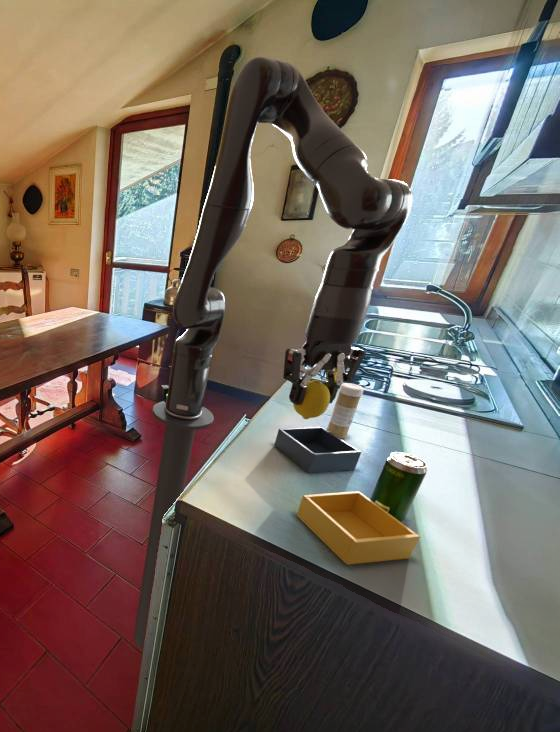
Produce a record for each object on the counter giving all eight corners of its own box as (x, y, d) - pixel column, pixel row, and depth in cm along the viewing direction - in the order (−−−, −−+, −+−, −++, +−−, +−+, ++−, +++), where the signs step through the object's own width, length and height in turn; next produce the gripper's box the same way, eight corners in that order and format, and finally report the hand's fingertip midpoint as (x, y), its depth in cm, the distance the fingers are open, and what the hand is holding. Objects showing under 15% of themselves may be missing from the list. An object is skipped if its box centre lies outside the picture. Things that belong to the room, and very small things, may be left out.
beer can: (397, 529, 68) (424, 472, 64) (361, 511, 72) (384, 457, 68) (407, 517, 71) (433, 462, 66) (372, 501, 75) (394, 448, 71)
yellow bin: (296, 515, 71) (302, 495, 69) (350, 510, 73) (358, 490, 71) (346, 564, 61) (356, 542, 59) (409, 558, 62) (420, 536, 61)
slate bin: (273, 445, 94) (278, 428, 92) (316, 443, 95) (321, 426, 93) (308, 473, 83) (314, 454, 82) (354, 469, 85) (361, 451, 83)
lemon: (303, 410, 77) (314, 373, 73) (329, 423, 72) (343, 384, 69) (281, 414, 75) (292, 376, 72) (307, 427, 70) (319, 387, 67)
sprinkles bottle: (334, 428, 102) (350, 381, 97) (351, 437, 98) (369, 388, 93) (320, 431, 100) (336, 383, 95) (337, 440, 96) (355, 390, 91)
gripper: (357, 307, 70) (329, 392, 76) (283, 308, 68) (261, 395, 75) (396, 316, 63) (362, 409, 69) (316, 317, 61) (288, 413, 68)
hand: (310, 402), depth 72 cm, fingers closed on lemon, 5 cm apart
